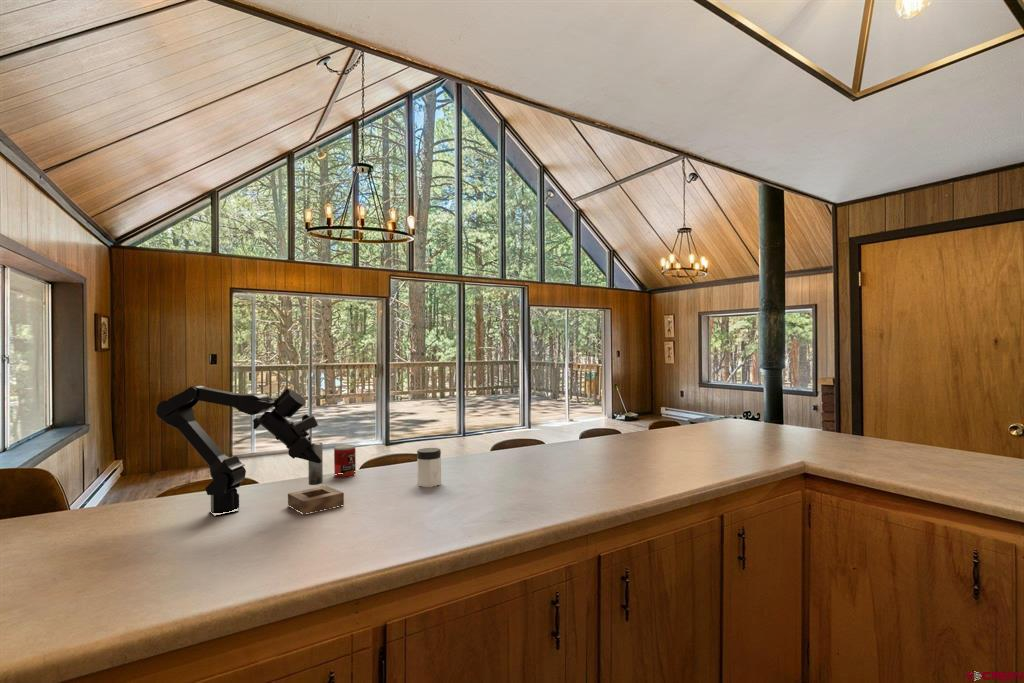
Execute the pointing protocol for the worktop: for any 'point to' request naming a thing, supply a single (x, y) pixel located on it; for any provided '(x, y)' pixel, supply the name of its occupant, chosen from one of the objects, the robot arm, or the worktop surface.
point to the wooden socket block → (315, 499)
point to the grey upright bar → (316, 465)
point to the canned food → (344, 460)
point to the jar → (429, 467)
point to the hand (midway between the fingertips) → (320, 460)
